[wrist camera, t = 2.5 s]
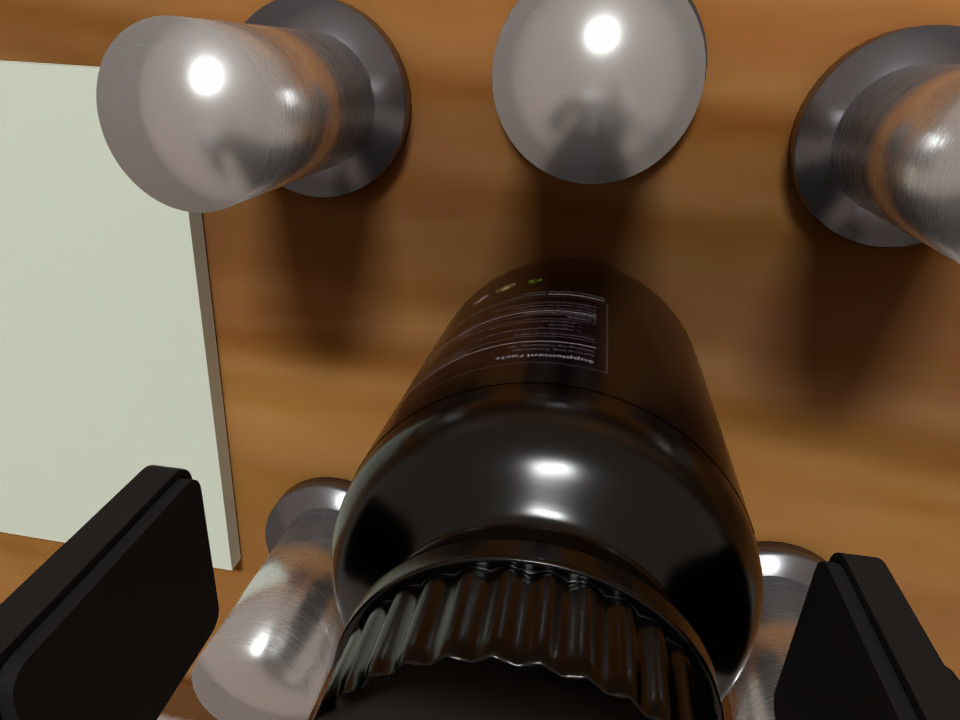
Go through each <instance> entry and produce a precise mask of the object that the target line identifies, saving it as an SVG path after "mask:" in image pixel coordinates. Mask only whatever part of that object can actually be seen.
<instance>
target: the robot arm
mask: <svg viewBox="0 0 960 720" xmlns="http://www.w3.org/2000/svg"><path fill="white" fill-rule="evenodd" d="M218 613H219V605H218V599H217V592H216V585H215V578H214V572H213V565H212V558H211V551H210V544H209V538H208V531H207V524H206V517H205V510H204V504H203V497H202V490H201V486H200V483H199V482H198V481H197V480H194V479H192V476H191V474H190V472H189V471H188V470H186V469H181V468H174V467H166V466H158V465H149V466H147V467H145V468H144V469H142V470H141V471H140V472H139V473H138V474H137V475H136V476H135V477H134V478H133V479H132V480H131V481H130V482H129V483H128V484H127V485H126V486H125V487H123V488H122V489H121V490H120V491H119V492H118V493H117V494H116V495H115V496H114V497H113V498H112V499H111V500H110V501H109V502H108V503H107V504H106V505H105V506H104V507H102V508H101V509H100V510H99V511H98V512H97V513H96V514H95V515H94V516H93V517H92V518H91V519H90V520H89V521H88V522H87V523H86V524H85V525H84V526H82V527H81V528H80V529H79V530H78V531H77V532H76V533H75V534H74V535H73V536H72V537H71V538H70V539H69V540H68V541H67V542H66V543H65V544H64V545H62V546H61V547H60V548H59V549H58V550H57V551H56V552H55V553H54V554H53V555H52V556H51V557H50V558H49V559H48V560H47V561H46V562H45V563H44V564H43V565H41V566H40V567H39V568H38V569H37V570H36V571H35V572H34V573H33V574H32V575H31V576H30V577H29V578H28V579H27V580H26V581H25V582H24V583H23V584H21V585H20V586H19V587H18V588H17V589H16V590H15V591H14V592H13V593H12V594H11V595H10V596H9V597H8V598H7V599H6V600H5V601H4V602H3V603H1V604H0V720H157V718H158V717H159V715H160V713H161V712H162V710H163V709H164V707H165V706H166V704H167V702H168V701H169V699H170V698H171V696H172V695H173V693H174V692H175V690H176V688H177V687H178V685H179V684H180V682H181V681H182V679H183V677H184V676H185V674H186V673H187V671H188V670H189V668H190V666H191V665H192V663H193V662H194V660H195V659H196V657H197V656H198V654H199V652H200V651H201V649H202V648H203V646H204V645H205V643H206V641H207V640H208V638H209V637H210V635H211V634H212V632H213V630H214V628H215V625H216V623H217V619H218ZM774 715H775V719H776V720H960V680H959V679H958V678H957V677H956V675H955V674H954V673H953V671H952V670H950V669H949V668H948V667H946V666H945V665H944V664H943V662H942V660H941V659H940V657H939V655H938V654H937V652H936V650H935V648H934V647H933V645H932V643H931V642H930V640H929V638H928V636H927V635H926V633H925V631H924V629H923V628H922V626H921V624H920V623H919V621H918V619H917V617H916V616H915V614H914V612H913V610H912V609H911V607H910V605H909V604H908V602H907V600H906V598H905V597H904V595H903V593H902V592H901V590H900V588H899V586H898V585H897V583H896V581H895V579H894V578H893V576H892V574H891V573H890V571H889V569H888V567H887V566H886V564H885V563H884V562H883V561H882V560H881V559H879V558H877V557H869V556H861V555H853V554H845V553H834V554H833V555H832V556H831V558H830V560H829V562H827V561H820V562H819V563H818V564H817V566H816V568H815V571H814V574H813V577H812V580H811V583H810V586H809V589H808V592H807V595H806V598H805V601H804V604H803V607H802V610H801V613H800V616H799V619H798V622H797V625H796V628H795V631H794V634H793V637H792V640H791V644H790V647H789V650H788V653H787V656H786V659H785V662H784V665H783V668H782V671H781V674H780V677H779V680H778V683H777V686H776V689H775V693H774Z"/></svg>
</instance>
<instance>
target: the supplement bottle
mask: <svg viewBox="0 0 960 720" xmlns="http://www.w3.org/2000/svg"><path fill="white" fill-rule="evenodd" d="M331 573H332V581H333V589H334V595H335V600H336V604H337V608H338V612H339V616H340V618H341V621H342V624H343V627H344V631H343V633H342V636H341V638H340V641H339V644H338V646H337V649H336V653H335V657H334V663H333V671H332V675H331V678H330V680H329V682H328V684H327V686H326V689H325V691H324V693H323V695H322V697H321V700H320V702H319V704H318V706H317V708H316V711H315V713H314V715H313V717H312V720H724V717H723V709H722V703H721V701H722V700H723V699H724V698H725V696H726V695H727V694H728V693H729V691H730V690H731V689H732V687H733V686H734V684H735V682H736V681H737V679H738V677H739V676H740V674H741V673H742V671H743V669H744V667H745V665H746V663H747V660H748V658H749V656H750V654H751V652H752V649H753V646H754V643H755V640H756V637H757V633H758V630H759V627H760V621H761V615H762V609H763V588H764V585H763V574H762V566H761V561H760V556H759V552H758V547H757V543H756V539H755V534H754V530H753V527H752V523H751V520H750V517H749V514H748V511H747V508H746V505H745V502H744V499H743V496H742V493H741V490H740V487H739V483H738V480H737V477H736V474H735V471H734V468H733V465H732V462H731V459H730V456H729V453H728V450H727V447H726V444H725V441H724V438H723V435H722V432H721V429H720V426H719V423H718V419H717V416H716V413H715V410H714V407H713V404H712V401H711V398H710V395H709V392H708V389H707V386H706V383H705V380H704V377H703V374H702V371H701V368H700V365H699V362H698V359H697V356H696V354H695V352H694V349H693V346H692V343H691V341H690V339H689V337H688V335H687V333H686V331H685V329H684V328H683V326H682V324H681V323H680V321H679V320H678V318H677V317H676V315H675V314H674V313H673V311H672V310H671V309H670V308H669V306H668V305H667V304H666V303H665V302H664V301H663V300H662V299H661V298H660V297H659V296H657V295H656V294H655V293H654V292H653V291H652V290H650V289H649V288H648V287H646V286H645V285H643V284H642V283H640V282H639V281H637V280H635V279H633V278H632V277H630V276H628V275H626V274H624V273H621V272H619V271H617V270H614V269H611V268H608V267H605V266H602V265H597V264H593V263H588V262H580V261H547V262H541V263H535V264H531V265H527V266H524V267H520V268H518V269H515V270H512V271H510V272H507V273H505V274H503V275H501V276H499V277H498V278H496V279H494V280H493V281H491V282H489V283H488V284H486V285H485V286H484V287H482V288H481V289H480V290H479V291H477V292H476V293H475V294H474V295H473V296H472V297H471V298H470V299H469V300H468V301H467V302H466V303H465V304H464V305H463V306H462V307H461V309H460V310H459V311H458V312H457V314H456V315H455V317H454V318H453V319H452V321H451V322H450V324H449V325H448V327H447V328H446V330H445V331H444V333H443V334H442V336H441V337H440V339H439V340H438V342H437V344H436V345H435V347H434V348H433V350H432V352H431V353H430V355H429V356H428V358H427V359H426V361H425V363H424V364H423V366H422V367H421V369H420V371H419V372H418V374H417V375H416V377H415V379H414V380H413V382H412V383H411V385H410V387H409V388H408V390H407V391H406V393H405V395H404V396H403V398H402V399H401V401H400V402H399V404H398V406H397V407H396V409H395V410H394V412H393V414H392V415H391V417H390V418H389V420H388V422H387V423H386V425H385V426H384V428H383V430H382V431H381V433H380V434H379V436H378V437H377V439H376V441H375V442H374V444H373V445H372V447H371V449H370V450H369V452H368V453H367V455H366V457H365V458H364V460H363V461H362V463H361V465H360V466H359V468H358V470H357V472H356V474H355V476H354V478H353V480H352V482H351V484H350V486H349V488H348V490H347V492H346V494H345V496H344V498H343V501H342V503H341V506H340V509H339V512H338V514H337V519H336V523H335V527H334V532H333V539H332V548H331Z"/></svg>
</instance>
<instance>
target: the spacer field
mask: <svg viewBox="0 0 960 720" xmlns="http://www.w3.org/2000/svg"><path fill="white" fill-rule="evenodd" d="M706 68H707V46H706V39H705V33H704V29H703V26H702V22H701V19H700V17H699V14H698V12H697V10H696V7H695V5H694V4H693V2H692V0H519V1H518V2H517V3H516V5H515V6H514V8H513V9H512V11H511V12H510V14H509V16H508V18H507V20H506V22H505V24H504V26H503V28H502V30H501V33H500V36H499V38H498V41H497V45H496V49H495V54H494V59H493V68H492V87H493V95H494V101H495V105H496V109H497V113H498V116H499V118H500V121H501V124H502V126H503V128H504V130H505V132H506V133H507V135H508V137H509V139H510V140H511V142H512V143H513V144H514V146H515V147H516V148H517V150H518V151H519V152H520V153H521V154H522V155H523V156H524V157H525V158H526V159H527V160H528V161H530V162H531V163H532V164H533V165H535V166H536V167H537V168H539V169H541V170H542V171H544V172H546V173H547V174H550V175H552V176H554V177H556V178H559V179H562V180H565V181H569V182H574V183H580V184H603V183H611V182H615V181H619V180H623V179H626V178H628V177H631V176H633V175H636V174H638V173H640V172H641V171H643V170H645V169H647V168H649V167H650V166H652V165H653V164H654V163H656V162H657V161H659V160H660V159H661V158H662V157H663V156H664V155H665V154H666V153H668V152H669V151H670V150H671V149H672V148H673V146H674V145H675V144H676V143H677V142H678V141H679V139H680V138H681V137H682V135H683V134H684V132H685V131H686V129H687V128H688V126H689V124H690V122H691V120H692V118H693V116H694V114H695V112H696V110H697V107H698V104H699V101H700V99H701V94H702V90H703V86H704V82H705V77H706ZM96 103H97V112H98V117H99V122H100V126H101V129H102V132H103V135H104V138H105V140H106V143H107V145H108V147H109V149H110V151H111V153H112V155H113V156H114V158H115V160H116V161H117V163H118V164H119V166H120V167H121V168H122V170H123V171H124V172H125V174H126V175H127V176H128V177H129V178H130V179H131V180H132V182H134V183H135V184H136V185H137V186H138V187H139V188H140V189H141V190H142V191H144V192H145V193H146V194H148V195H149V196H150V197H152V198H154V199H155V200H157V201H159V202H161V203H163V204H165V205H167V206H169V207H172V208H175V209H178V210H182V211H187V212H193V213H207V212H215V211H218V210H222V209H225V208H228V207H230V206H233V205H235V204H238V203H241V202H243V201H246V200H248V199H251V198H254V197H256V196H259V195H261V194H264V193H267V192H269V191H272V190H274V189H277V188H279V187H282V186H283V187H284V188H287V189H289V190H291V191H293V192H296V193H300V194H303V195H307V196H313V197H335V196H341V195H344V194H348V193H351V192H353V191H355V190H358V189H360V188H362V187H364V186H366V185H368V184H369V183H371V182H372V181H374V180H376V179H377V178H378V177H379V176H381V175H382V174H383V173H384V172H385V171H386V170H387V169H388V168H389V167H390V166H391V164H392V163H393V162H394V160H395V159H396V157H397V156H398V154H399V153H400V150H401V148H402V146H403V144H404V142H405V139H406V136H407V133H408V128H409V123H410V117H411V93H410V87H409V81H408V77H407V74H406V70H405V67H404V65H403V62H402V60H401V58H400V55H399V53H398V52H397V50H396V48H395V46H394V45H393V43H392V41H391V40H390V39H389V37H388V36H387V35H386V33H385V32H384V31H383V30H382V29H381V28H380V27H379V26H378V25H377V24H376V23H375V22H374V21H373V20H372V19H371V18H369V17H368V16H367V15H366V14H364V13H363V12H361V11H359V10H358V9H356V8H355V7H353V6H350V5H348V4H346V3H344V2H341V1H337V0H275V1H273V2H271V3H269V4H267V5H265V6H263V7H262V8H260V9H259V10H258V11H257V12H255V13H254V14H253V15H252V16H251V17H250V18H249V19H248V20H247V21H246V22H245V23H236V22H226V21H217V20H207V19H198V18H188V17H178V16H155V17H150V18H146V19H143V20H141V21H138V22H136V23H134V24H132V25H131V26H129V27H127V28H126V29H125V30H124V31H123V32H121V33H120V34H119V35H118V36H117V37H116V39H115V40H114V41H113V42H112V43H111V45H110V46H109V48H108V50H107V51H106V53H105V55H104V58H103V60H102V63H101V66H100V69H99V73H98V78H97V86H96ZM789 164H790V172H791V176H792V180H793V184H794V187H795V189H796V191H797V194H798V196H799V197H800V199H801V201H802V202H803V204H804V205H805V207H806V208H807V209H808V210H809V211H810V213H811V214H812V215H813V216H814V217H815V218H817V219H818V220H819V221H820V222H821V223H822V224H824V225H825V226H826V227H828V228H829V229H831V230H832V231H834V232H835V233H837V234H839V235H840V236H842V237H845V238H847V239H849V240H851V241H854V242H858V243H861V244H865V245H871V246H877V247H899V246H909V245H914V244H919V243H924V244H926V245H928V246H929V247H931V248H933V249H935V250H936V251H938V252H940V253H942V254H943V255H945V256H947V257H949V258H950V259H952V260H954V261H956V262H957V263H959V264H960V27H958V26H949V25H926V26H917V27H910V28H903V29H898V30H895V31H891V32H887V33H884V34H882V35H879V36H877V37H874V38H872V39H869V40H868V41H866V42H864V43H862V44H860V45H858V46H857V47H855V48H853V49H852V50H851V51H849V52H848V53H846V54H845V55H843V56H842V57H841V58H840V59H838V60H837V61H836V62H835V63H834V64H833V65H832V66H830V67H829V68H828V69H827V71H826V72H825V73H824V74H823V75H822V76H821V77H820V78H819V79H818V81H817V82H816V83H815V85H814V86H813V87H812V89H811V90H810V91H809V93H808V95H807V96H806V98H805V100H804V102H803V103H802V105H801V108H800V110H799V112H798V114H797V117H796V119H795V123H794V126H793V129H792V133H791V139H790V146H789ZM350 484H351V481H348V480H344V479H339V478H331V477H320V478H313V479H309V480H306V481H303V482H300V483H298V484H296V485H295V486H293V487H292V488H290V489H289V490H288V491H287V492H286V493H285V494H284V495H283V496H282V498H281V499H280V500H279V502H278V503H277V504H276V506H275V507H274V508H273V510H272V511H271V513H270V515H269V517H268V521H267V524H266V542H267V547H268V550H269V553H270V555H269V556H268V558H267V559H266V560H265V562H264V563H263V565H262V566H261V568H260V569H259V571H258V572H257V574H256V575H255V577H254V578H253V579H252V581H251V582H250V584H249V585H248V587H247V588H246V590H245V591H244V593H243V594H242V596H241V597H240V598H239V600H238V601H237V603H236V604H235V606H234V607H233V609H232V610H231V612H230V613H229V615H228V616H227V617H226V619H225V620H224V622H223V623H222V625H221V626H220V628H219V629H218V631H217V632H216V634H215V635H214V636H213V638H212V639H211V641H210V642H209V644H208V645H207V647H206V648H205V650H204V651H203V653H202V654H201V656H200V657H199V658H198V660H197V661H196V663H195V665H194V668H193V671H192V683H193V688H194V690H195V693H196V695H197V697H198V699H199V700H200V702H201V703H202V705H203V706H204V707H205V708H206V709H207V711H208V712H209V713H210V714H212V715H213V716H214V717H215V718H216V719H217V720H308V718H309V716H310V714H311V712H312V709H313V707H314V705H315V703H316V701H317V698H318V696H319V694H320V692H321V690H322V687H323V685H324V683H325V681H326V679H327V676H328V674H329V672H330V670H331V668H332V665H333V663H334V657H335V653H336V649H337V646H338V644H339V641H340V638H341V636H342V633H343V631H344V627H343V624H342V621H341V618H340V616H339V612H338V608H337V604H336V600H335V595H334V589H333V581H332V573H331V548H332V539H333V532H334V527H335V523H336V519H337V514H338V512H339V509H340V506H341V503H342V501H343V498H344V496H345V494H346V492H347V490H348V488H349V486H350ZM756 543H757V547H758V552H759V556H760V561H761V566H762V574H763V585H764V588H763V609H762V615H761V621H760V627H759V630H758V633H757V637H756V640H755V643H754V646H753V649H752V652H751V654H750V656H749V658H748V660H747V663H746V665H745V667H744V669H743V671H742V673H741V674H740V676H739V677H738V679H737V681H736V682H735V684H734V686H733V687H732V689H731V690H730V691H729V693H728V697H729V702H730V707H731V713H732V718H733V720H776V719H775V715H774V693H775V689H776V686H777V683H778V680H779V677H780V674H781V671H782V668H783V665H784V662H785V659H786V656H787V653H788V650H789V647H790V644H791V640H792V637H793V634H794V631H795V628H796V625H797V622H798V619H799V616H800V613H801V610H802V607H803V604H804V601H805V598H806V595H807V592H808V589H809V586H810V583H811V580H812V577H813V574H814V571H815V568H816V566H817V564H818V563H819V562H820V561H825V560H824V559H823V558H821V557H820V556H818V555H816V554H815V553H813V552H811V551H809V550H807V549H804V548H802V547H799V546H796V545H792V544H787V543H782V542H772V541H760V542H756Z"/></svg>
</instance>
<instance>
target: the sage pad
mask: <svg viewBox="0 0 960 720" xmlns="http://www.w3.org/2000/svg"><path fill="white" fill-rule="evenodd" d="M99 69H100V67H96V66H81V65H65V64H50V63H34V62H19V61H3V60H0V532H4V533H10V534H16V535H22V536H28V537H34V538H40V539H46V540H52V541H58V542H64V543H66V542H67V541H68V540H69V539H70V538H71V537H72V536H73V535H74V534H75V533H76V532H77V531H78V530H79V529H80V528H81V527H82V526H84V525H85V524H86V523H87V522H88V521H89V520H90V519H91V518H92V517H93V516H94V515H95V514H96V513H97V512H98V511H99V510H100V509H101V508H102V507H104V506H105V505H106V504H107V503H108V502H109V501H110V500H111V499H112V498H113V497H114V496H115V495H116V494H117V493H118V492H119V491H120V490H121V489H122V488H123V487H125V486H126V485H127V484H128V483H129V482H130V481H131V480H132V479H133V478H134V477H135V476H136V475H137V474H138V473H139V472H140V471H141V470H142V469H144V468H145V467H147V466H149V465H158V466H166V467H174V468H181V469H186V470H188V471H189V472H190V474H191V476H192V479H194V480H197V481H198V482H199V483H200V486H201V490H202V497H203V504H204V510H205V517H206V524H207V531H208V538H209V544H210V551H211V558H212V565H213V567H214V568H220V569H226V570H233V569H234V567H235V566H236V565H237V563H238V562H239V560H240V559H241V554H240V545H239V537H238V528H237V519H236V510H235V502H234V493H233V484H232V475H231V467H230V458H229V449H228V440H227V432H226V423H225V414H224V405H223V396H222V388H221V379H220V370H219V361H218V353H217V344H216V335H215V326H214V318H213V309H212V300H211V291H210V282H209V274H208V265H207V256H206V247H205V239H204V230H203V221H202V213H193V212H187V211H182V210H178V209H175V208H172V207H169V206H167V205H165V204H163V203H161V202H159V201H157V200H155V199H154V198H152V197H150V196H149V195H148V194H146V193H145V192H144V191H142V190H141V189H140V188H139V187H138V186H137V185H136V184H135V183H134V182H132V180H131V179H130V178H129V177H128V176H127V175H126V174H125V172H124V171H123V170H122V168H121V167H120V166H119V164H118V163H117V161H116V160H115V158H114V156H113V155H112V153H111V151H110V149H109V147H108V145H107V143H106V140H105V138H104V135H103V132H102V129H101V126H100V122H99V117H98V112H97V103H96V86H97V78H98V73H99Z"/></svg>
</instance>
